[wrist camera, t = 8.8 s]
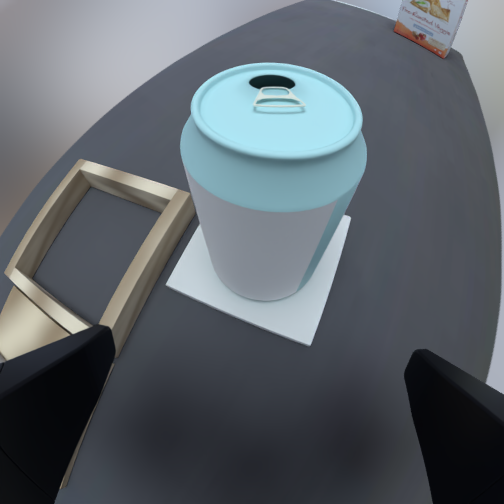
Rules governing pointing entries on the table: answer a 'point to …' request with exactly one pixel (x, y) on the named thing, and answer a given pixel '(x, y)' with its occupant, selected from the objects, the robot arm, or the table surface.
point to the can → (271, 172)
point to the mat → (257, 311)
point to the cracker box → (431, 23)
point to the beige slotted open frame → (130, 288)
